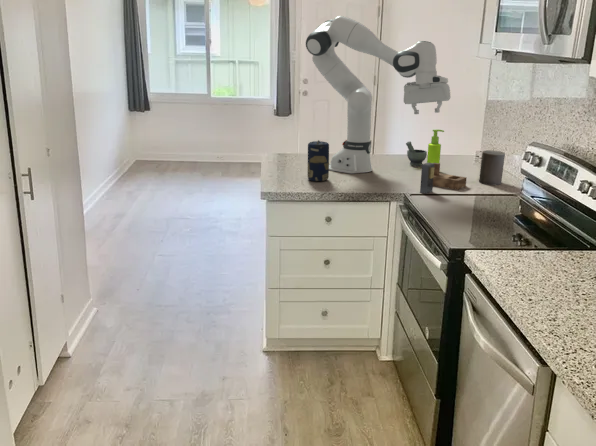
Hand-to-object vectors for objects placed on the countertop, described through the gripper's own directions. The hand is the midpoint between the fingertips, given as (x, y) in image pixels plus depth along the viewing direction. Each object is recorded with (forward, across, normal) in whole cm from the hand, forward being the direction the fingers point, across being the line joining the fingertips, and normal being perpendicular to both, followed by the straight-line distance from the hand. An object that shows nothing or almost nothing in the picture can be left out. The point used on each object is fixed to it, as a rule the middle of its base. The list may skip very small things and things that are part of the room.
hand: (426, 113), depth 254 cm
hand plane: (+31, +6, +6) cm, 32 cm away
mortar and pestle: (+23, -24, +38) cm, 50 cm away
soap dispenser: (+26, -10, +30) cm, 41 cm away
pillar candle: (+31, +19, +24) cm, 44 cm away
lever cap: (+33, +4, -10) cm, 35 cm away
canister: (+27, -44, -20) cm, 55 cm away
